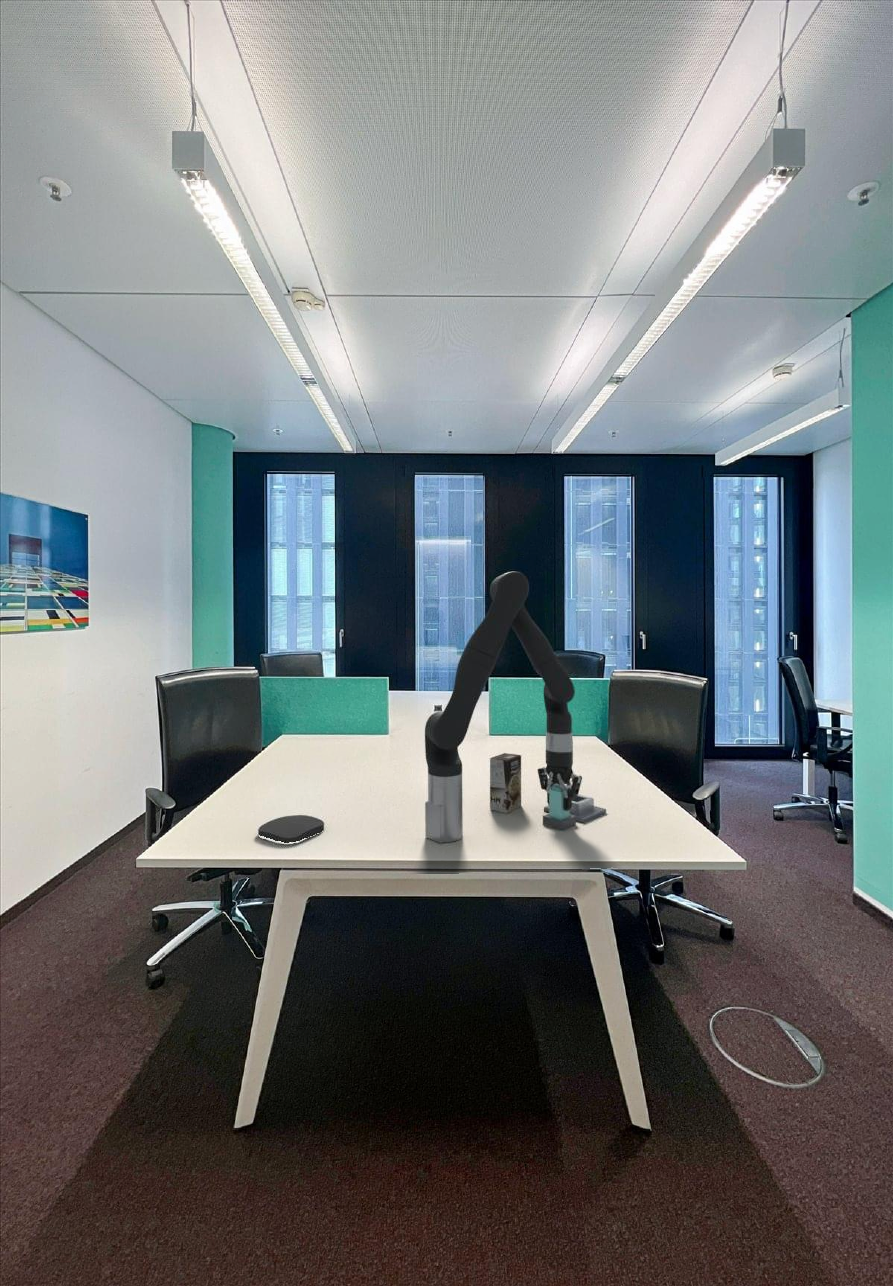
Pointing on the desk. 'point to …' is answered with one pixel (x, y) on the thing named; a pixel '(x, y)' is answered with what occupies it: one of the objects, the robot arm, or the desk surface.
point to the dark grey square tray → (559, 822)
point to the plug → (557, 803)
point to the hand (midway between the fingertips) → (559, 807)
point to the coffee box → (505, 782)
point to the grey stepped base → (583, 808)
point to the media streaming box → (291, 828)
